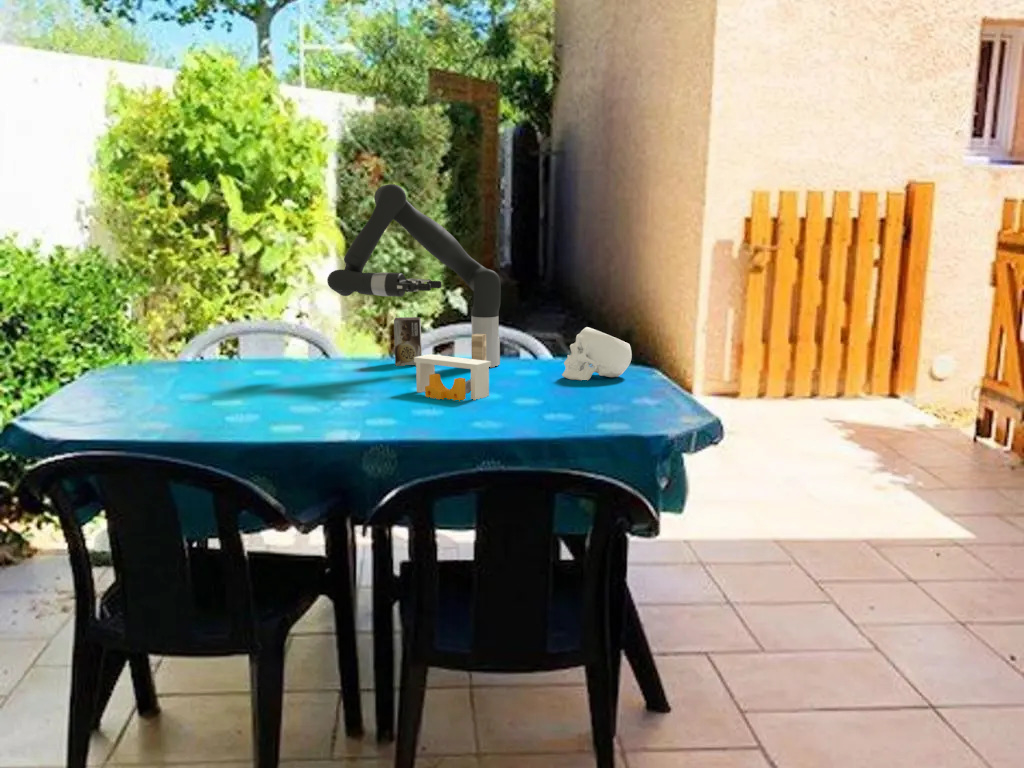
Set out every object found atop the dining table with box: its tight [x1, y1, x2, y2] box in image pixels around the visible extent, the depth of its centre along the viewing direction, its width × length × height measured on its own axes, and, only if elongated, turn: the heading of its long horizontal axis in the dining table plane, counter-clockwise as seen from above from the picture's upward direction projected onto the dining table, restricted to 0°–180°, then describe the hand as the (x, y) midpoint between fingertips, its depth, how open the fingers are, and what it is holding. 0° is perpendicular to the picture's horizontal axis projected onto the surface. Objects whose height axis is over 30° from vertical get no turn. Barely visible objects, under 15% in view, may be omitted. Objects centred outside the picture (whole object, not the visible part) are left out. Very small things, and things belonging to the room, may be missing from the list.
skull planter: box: [561, 326, 633, 381], centre depth 328 cm, size 14×20×19 cm
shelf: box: [414, 353, 491, 401], centre depth 302 cm, size 7×23×10 cm, turn 57°
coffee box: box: [393, 316, 423, 367], centre depth 351 cm, size 9×6×16 cm
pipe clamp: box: [424, 373, 466, 402], centre depth 297 cm, size 12×4×6 cm, turn 50°
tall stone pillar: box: [465, 334, 486, 395], centre depth 306 cm, size 20×4×16 cm, turn 161°
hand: (435, 285), depth 319 cm, fingers open, 8 cm apart
